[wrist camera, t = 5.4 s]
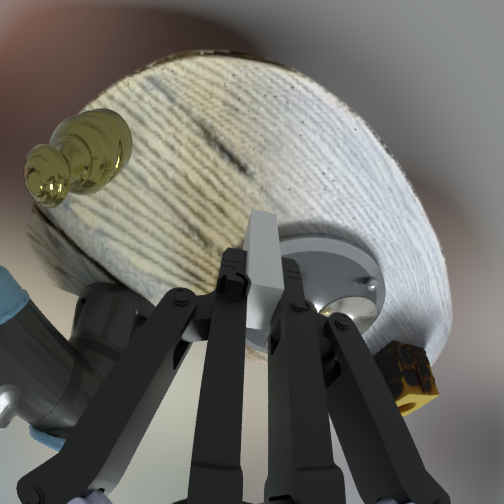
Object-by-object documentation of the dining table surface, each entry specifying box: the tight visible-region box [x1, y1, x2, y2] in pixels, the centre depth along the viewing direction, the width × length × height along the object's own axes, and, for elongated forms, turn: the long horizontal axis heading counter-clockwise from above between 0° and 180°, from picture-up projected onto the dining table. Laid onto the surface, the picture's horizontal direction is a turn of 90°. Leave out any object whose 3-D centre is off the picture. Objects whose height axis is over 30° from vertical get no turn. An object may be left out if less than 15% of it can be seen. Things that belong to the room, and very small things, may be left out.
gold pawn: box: [24, 108, 132, 208], centre depth 17 cm, size 7×7×10 cm
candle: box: [373, 341, 439, 417], centre depth 36 cm, size 10×10×10 cm
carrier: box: [245, 233, 385, 354], centre depth 31 cm, size 20×20×4 cm
